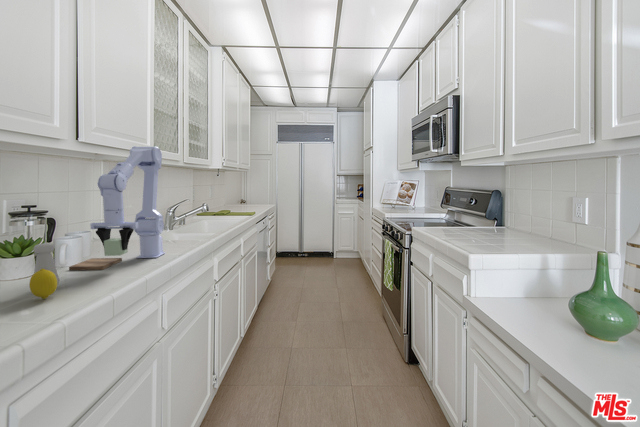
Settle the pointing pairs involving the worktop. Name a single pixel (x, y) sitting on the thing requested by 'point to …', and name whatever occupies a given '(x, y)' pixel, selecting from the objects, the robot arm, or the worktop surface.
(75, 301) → the worktop surface
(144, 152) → the robot arm
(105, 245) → the green cube
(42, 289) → the lemon
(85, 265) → the cutting board
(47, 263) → the salt shaker
